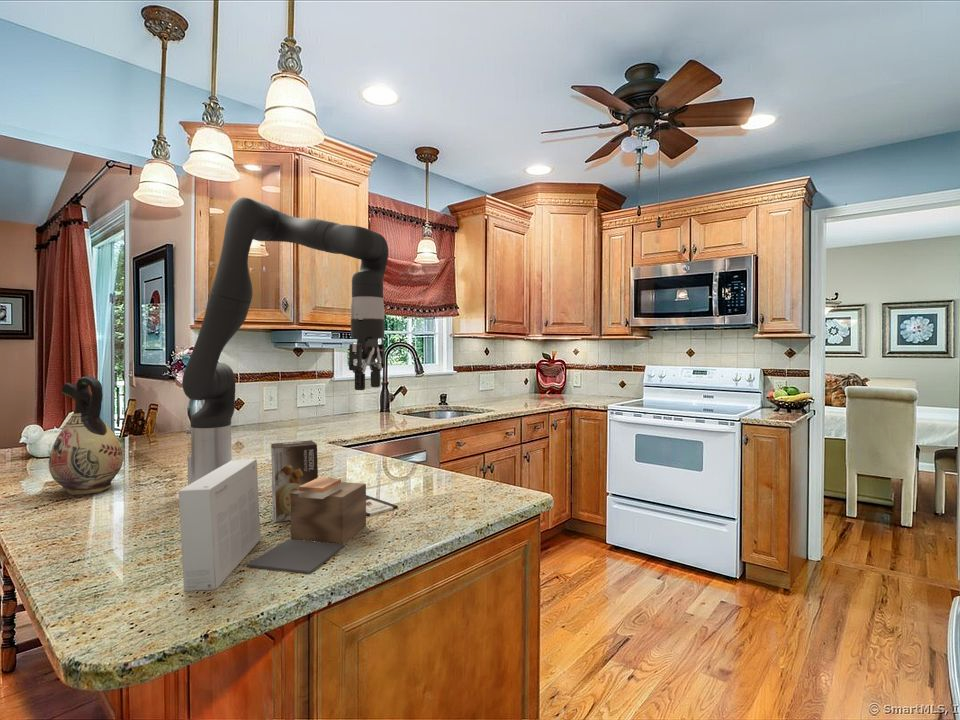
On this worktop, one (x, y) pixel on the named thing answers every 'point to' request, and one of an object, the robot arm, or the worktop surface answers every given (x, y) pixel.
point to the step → (329, 515)
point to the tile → (319, 488)
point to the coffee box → (291, 473)
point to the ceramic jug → (85, 444)
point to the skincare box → (218, 523)
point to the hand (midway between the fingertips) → (368, 388)
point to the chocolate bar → (377, 506)
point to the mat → (296, 556)
